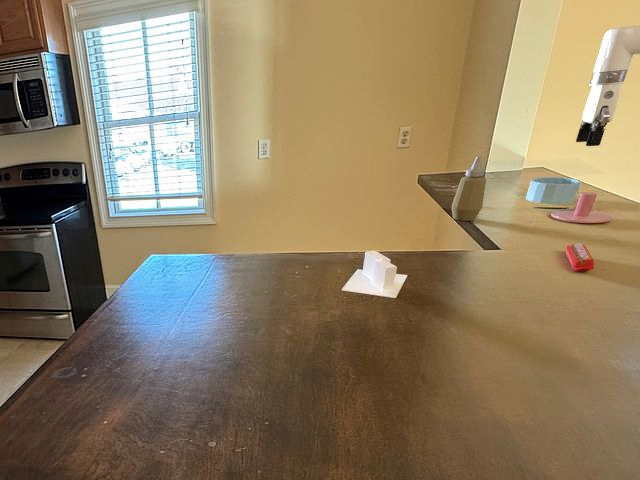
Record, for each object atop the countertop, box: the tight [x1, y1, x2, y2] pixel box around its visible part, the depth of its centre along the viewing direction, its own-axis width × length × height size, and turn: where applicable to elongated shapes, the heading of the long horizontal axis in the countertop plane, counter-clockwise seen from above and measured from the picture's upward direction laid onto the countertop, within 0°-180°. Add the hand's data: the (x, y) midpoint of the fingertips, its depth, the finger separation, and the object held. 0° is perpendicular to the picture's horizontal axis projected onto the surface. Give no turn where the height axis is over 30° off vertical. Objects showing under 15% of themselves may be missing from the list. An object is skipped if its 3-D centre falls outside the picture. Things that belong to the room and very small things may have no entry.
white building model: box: [341, 250, 409, 299], centre depth 106 cm, size 15×11×6 cm
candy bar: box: [565, 243, 595, 273], centre depth 109 cm, size 16×4×3 cm, turn 150°
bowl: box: [525, 176, 583, 210], centre depth 153 cm, size 13×13×8 cm
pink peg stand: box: [550, 191, 613, 224], centre depth 138 cm, size 14×14×7 cm
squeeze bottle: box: [451, 155, 487, 222], centre depth 143 cm, size 8×8×18 cm
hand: (587, 143), depth 145 cm, fingers open, 9 cm apart
